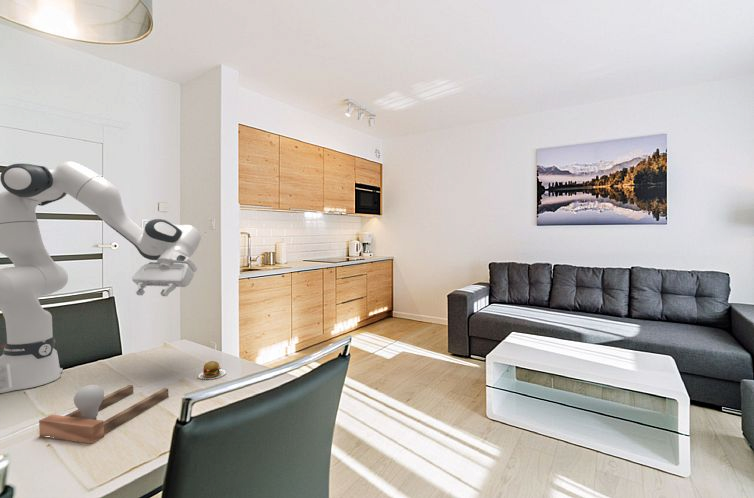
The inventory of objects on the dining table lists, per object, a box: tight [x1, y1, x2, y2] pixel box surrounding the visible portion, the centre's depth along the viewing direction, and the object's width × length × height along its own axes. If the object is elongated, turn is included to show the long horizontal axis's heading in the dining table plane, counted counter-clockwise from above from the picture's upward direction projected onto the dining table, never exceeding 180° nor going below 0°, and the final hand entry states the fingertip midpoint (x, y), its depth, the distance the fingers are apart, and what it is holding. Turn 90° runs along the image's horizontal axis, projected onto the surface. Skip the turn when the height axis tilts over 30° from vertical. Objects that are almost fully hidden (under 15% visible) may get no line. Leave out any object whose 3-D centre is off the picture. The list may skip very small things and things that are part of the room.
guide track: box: [38, 384, 169, 444], centre depth 100 cm, size 25×16×4 cm, turn 169°
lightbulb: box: [73, 384, 105, 420], centre depth 94 cm, size 6×6×11 cm
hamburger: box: [197, 360, 227, 380], centre depth 128 cm, size 12×12×6 cm
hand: (150, 294), depth 121 cm, fingers open, 8 cm apart
